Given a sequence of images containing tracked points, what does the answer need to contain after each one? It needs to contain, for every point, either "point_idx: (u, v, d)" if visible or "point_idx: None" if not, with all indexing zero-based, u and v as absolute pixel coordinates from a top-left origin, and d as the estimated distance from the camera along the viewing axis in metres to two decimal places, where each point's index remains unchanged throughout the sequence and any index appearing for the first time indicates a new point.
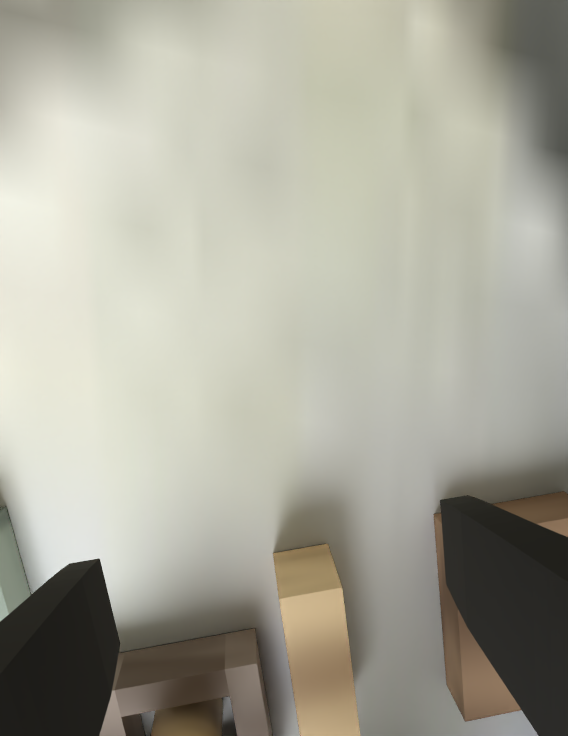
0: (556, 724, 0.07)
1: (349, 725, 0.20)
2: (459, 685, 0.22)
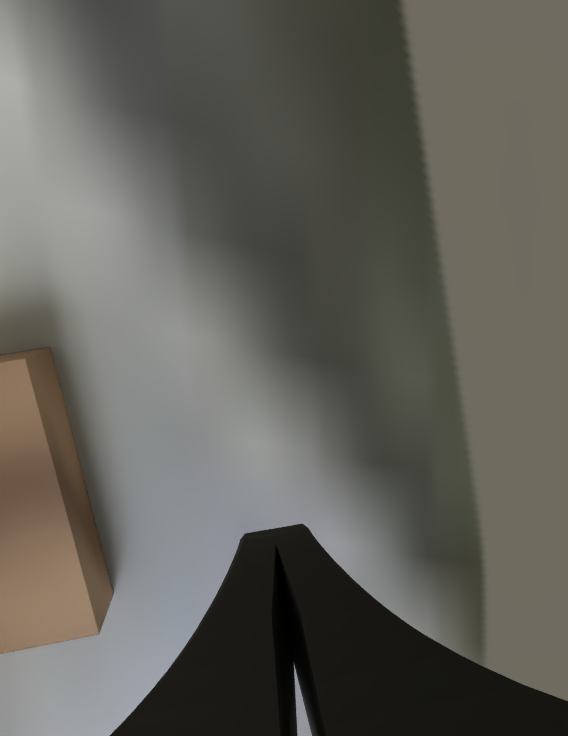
0: None
1: None
2: None
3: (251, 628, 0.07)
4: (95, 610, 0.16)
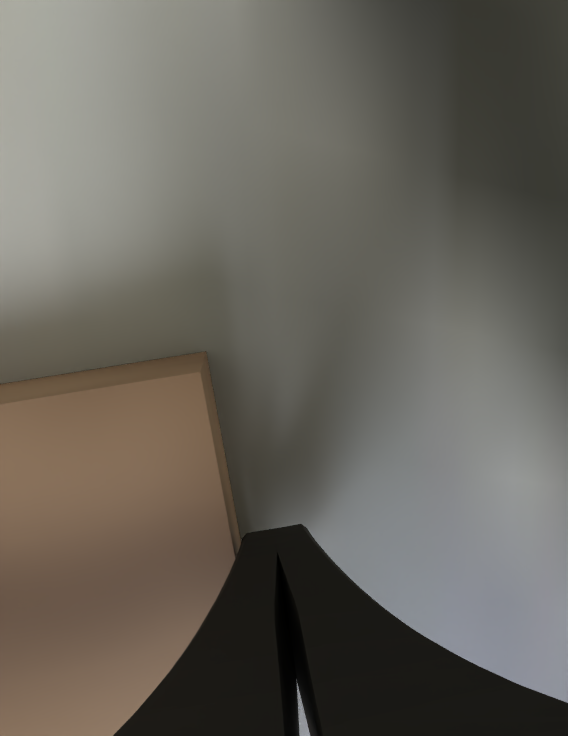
0: None
1: None
2: None
3: (254, 626, 0.07)
4: None
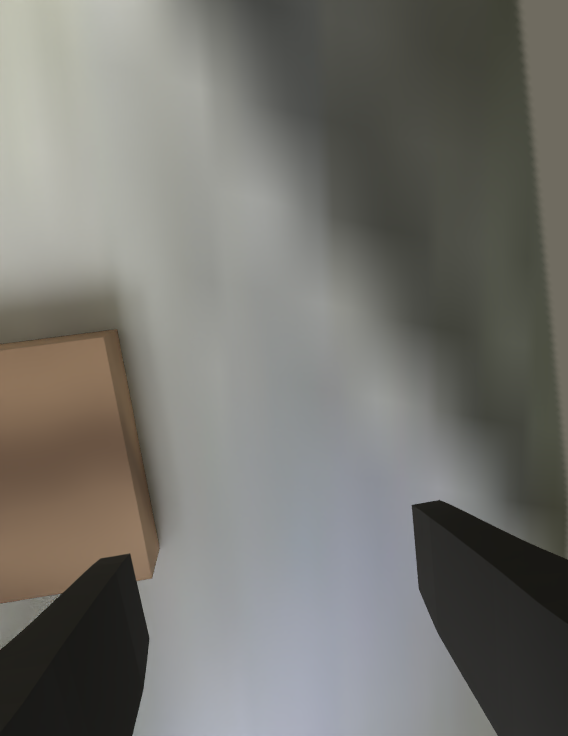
0: (517, 732, 0.07)
1: None
2: None
3: (27, 668, 0.06)
4: (149, 557, 0.18)
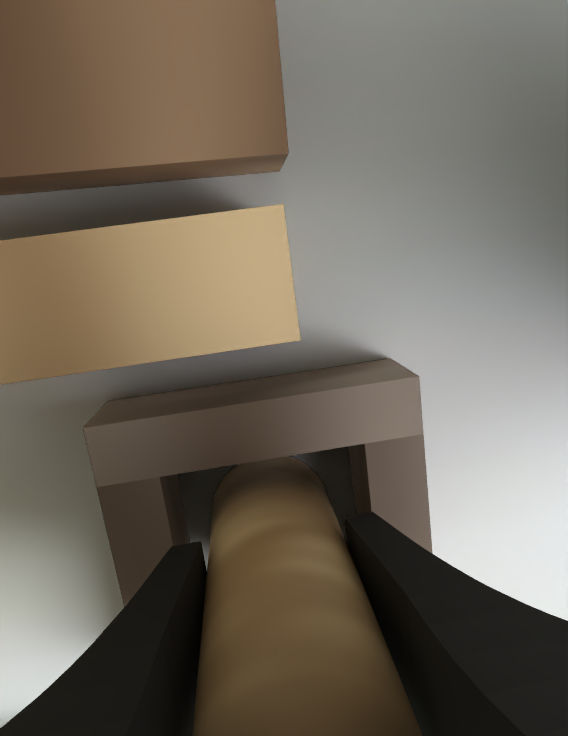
0: None
1: (187, 240, 0.09)
2: (208, 163, 0.10)
3: (137, 648, 0.07)
4: None
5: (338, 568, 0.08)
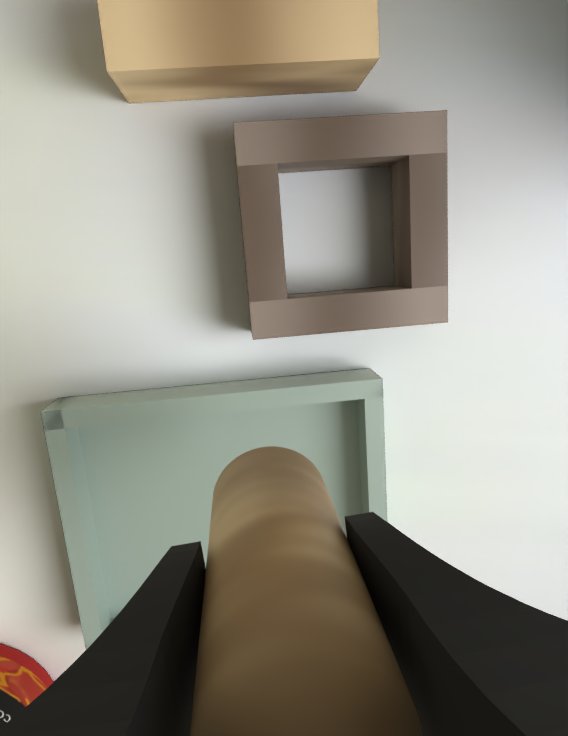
0: None
1: None
2: None
3: (137, 648, 0.07)
4: None
5: (340, 557, 0.09)
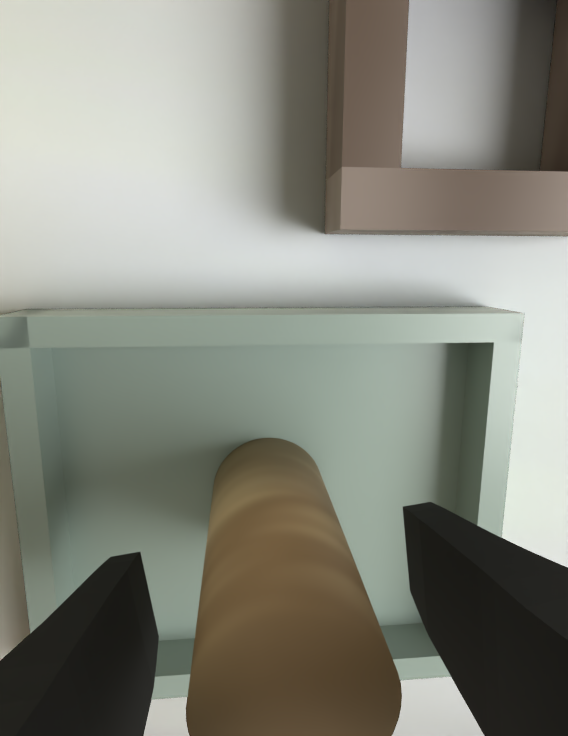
0: (504, 735, 0.07)
1: None
2: None
3: (42, 666, 0.06)
4: None
5: (332, 536, 0.09)
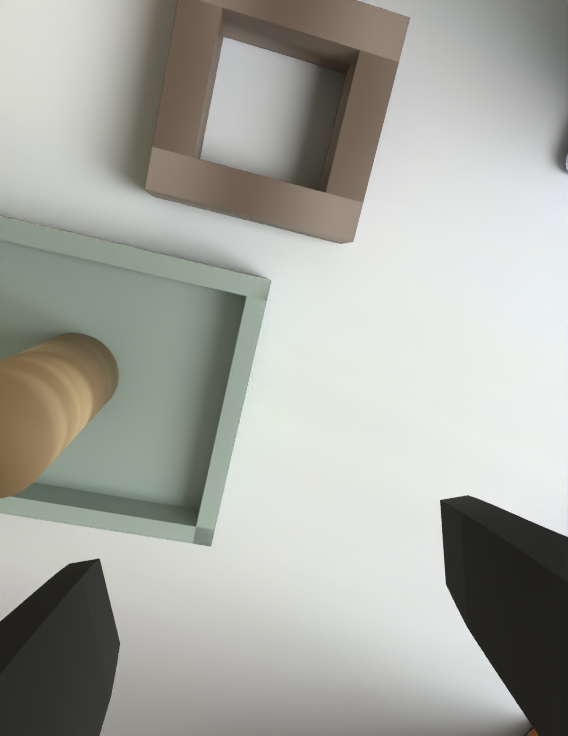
0: (556, 724, 0.07)
1: None
2: None
3: None
4: None
5: (66, 376, 0.14)
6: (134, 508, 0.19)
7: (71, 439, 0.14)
